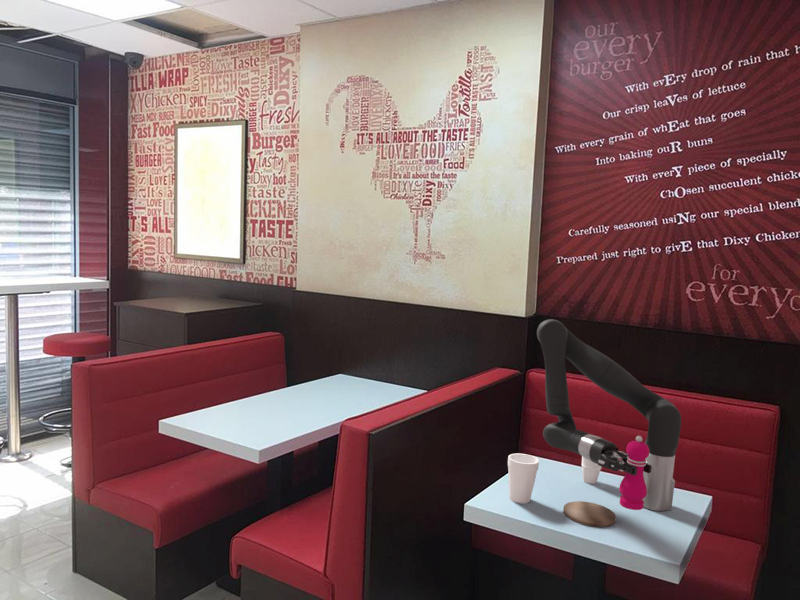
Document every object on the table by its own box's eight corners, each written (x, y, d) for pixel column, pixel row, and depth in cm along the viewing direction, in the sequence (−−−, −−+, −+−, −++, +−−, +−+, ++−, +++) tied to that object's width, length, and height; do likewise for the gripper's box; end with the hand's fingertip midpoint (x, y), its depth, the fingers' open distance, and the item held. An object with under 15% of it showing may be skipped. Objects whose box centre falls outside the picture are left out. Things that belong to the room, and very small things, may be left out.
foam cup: (526, 508, 202) (530, 466, 200) (498, 499, 207) (502, 458, 206) (540, 499, 209) (544, 459, 208) (513, 490, 215) (517, 451, 213)
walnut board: (604, 506, 208) (605, 502, 207) (623, 528, 193) (624, 524, 193) (556, 504, 207) (557, 500, 206) (572, 525, 192) (572, 521, 192)
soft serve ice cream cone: (572, 480, 228) (577, 434, 227) (585, 475, 234) (590, 430, 232) (594, 488, 222) (599, 441, 221) (607, 483, 228) (612, 437, 226)
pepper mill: (650, 510, 185) (659, 439, 183) (627, 511, 183) (636, 440, 181) (634, 499, 192) (642, 431, 190) (612, 500, 190) (620, 432, 187)
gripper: (581, 440, 195) (626, 460, 180) (616, 435, 202) (663, 454, 187) (578, 465, 196) (623, 487, 181) (614, 460, 202) (660, 480, 188)
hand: (643, 470), depth 184 cm, fingers closed on pepper mill, 5 cm apart
